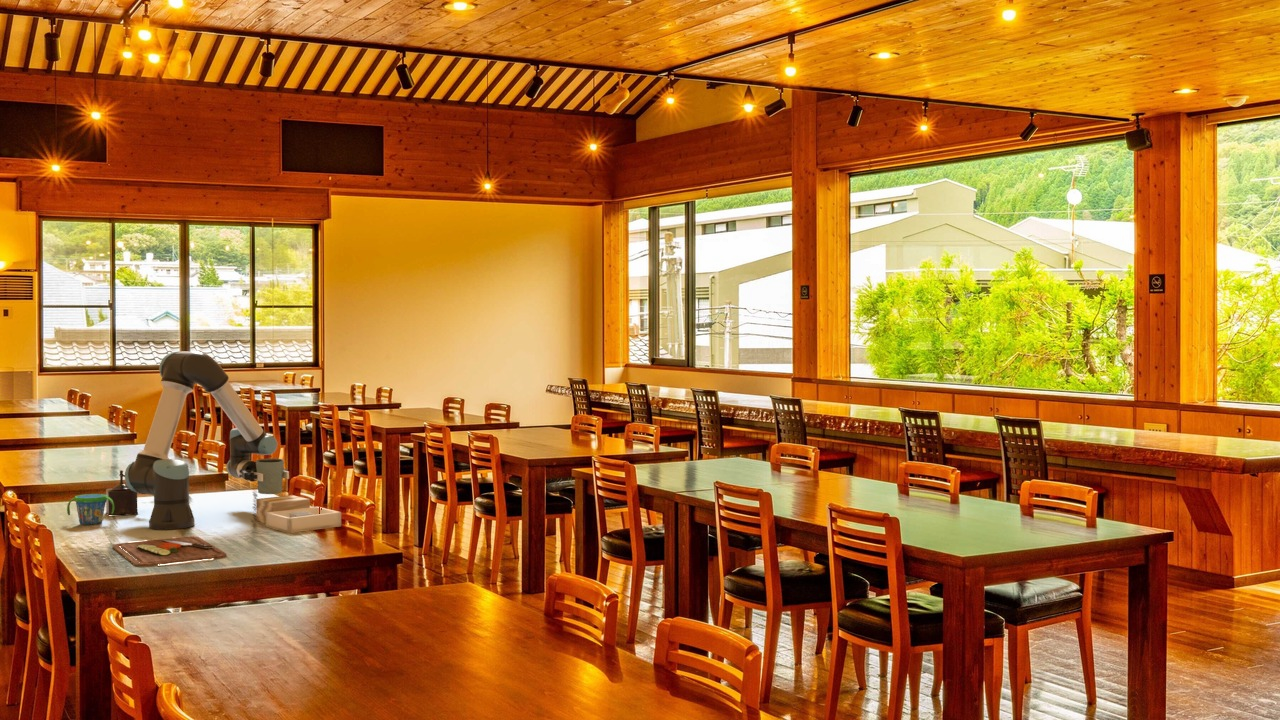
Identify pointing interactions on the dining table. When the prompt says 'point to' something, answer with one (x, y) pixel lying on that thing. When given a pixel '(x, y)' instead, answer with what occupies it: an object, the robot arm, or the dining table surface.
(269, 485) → the grey green tapered cup
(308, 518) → the box
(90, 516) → the snack cup
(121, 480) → the manual coffee grinder
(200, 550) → the chopping board
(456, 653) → the dining table surface
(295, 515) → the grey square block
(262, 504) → the block
